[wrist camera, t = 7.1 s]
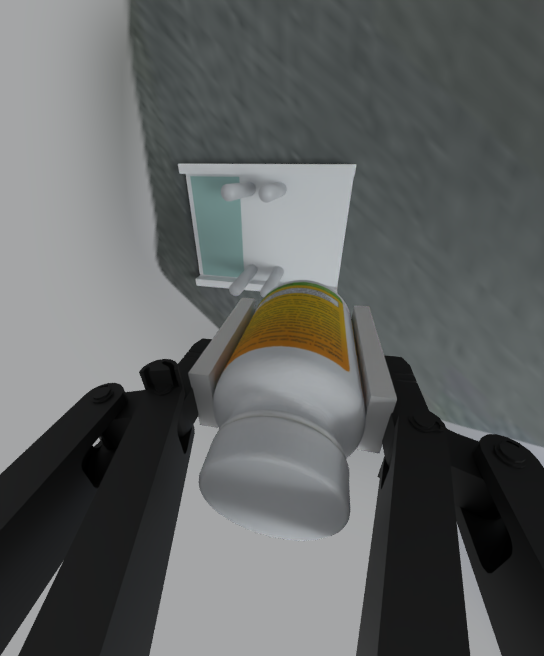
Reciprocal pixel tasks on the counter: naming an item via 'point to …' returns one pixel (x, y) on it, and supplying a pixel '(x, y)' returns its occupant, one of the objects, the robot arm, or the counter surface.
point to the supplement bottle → (288, 417)
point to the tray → (268, 223)
